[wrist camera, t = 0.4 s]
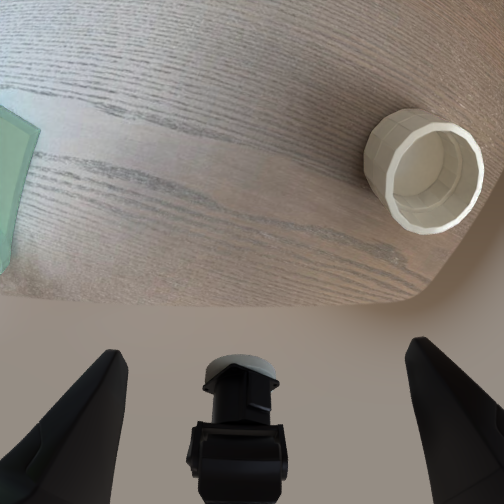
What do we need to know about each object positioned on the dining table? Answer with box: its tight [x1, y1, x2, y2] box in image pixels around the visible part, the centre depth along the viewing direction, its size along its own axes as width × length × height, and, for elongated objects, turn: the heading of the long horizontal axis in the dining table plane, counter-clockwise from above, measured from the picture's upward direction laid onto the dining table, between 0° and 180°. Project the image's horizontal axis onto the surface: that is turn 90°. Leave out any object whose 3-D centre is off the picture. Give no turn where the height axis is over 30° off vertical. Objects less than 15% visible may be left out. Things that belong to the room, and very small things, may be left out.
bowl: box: [364, 109, 484, 235], centre depth 17 cm, size 7×7×4 cm
